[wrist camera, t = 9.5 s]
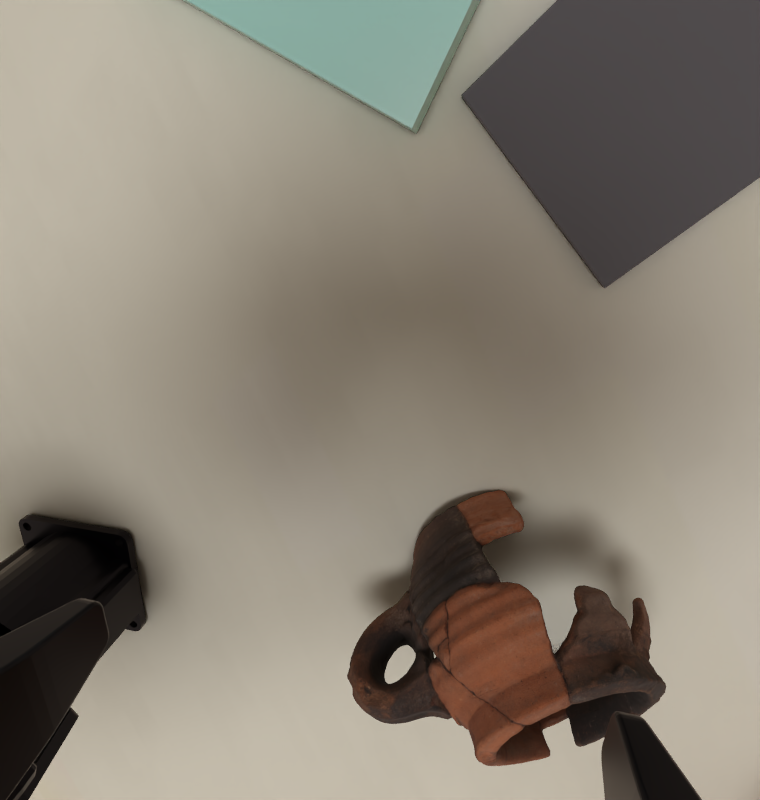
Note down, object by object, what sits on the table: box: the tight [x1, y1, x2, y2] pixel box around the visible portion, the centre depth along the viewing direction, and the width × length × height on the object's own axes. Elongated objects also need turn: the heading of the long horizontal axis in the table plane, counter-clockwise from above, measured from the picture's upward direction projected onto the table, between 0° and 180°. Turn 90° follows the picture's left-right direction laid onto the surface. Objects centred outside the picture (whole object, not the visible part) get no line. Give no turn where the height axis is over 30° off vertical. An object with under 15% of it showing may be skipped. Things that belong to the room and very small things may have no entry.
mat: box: [462, 0, 760, 288], centre depth 16 cm, size 8×8×1 cm
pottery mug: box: [347, 490, 666, 766], centre depth 21 cm, size 12×10×8 cm
